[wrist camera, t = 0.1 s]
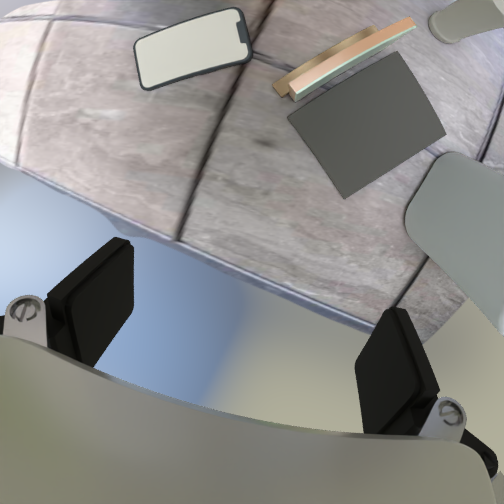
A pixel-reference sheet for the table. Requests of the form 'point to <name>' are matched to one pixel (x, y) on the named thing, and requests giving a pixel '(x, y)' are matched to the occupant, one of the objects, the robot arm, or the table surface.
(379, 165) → the rubber mat
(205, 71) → the phone case
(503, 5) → the bottle
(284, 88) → the tile stand
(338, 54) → the tile
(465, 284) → the plastic bottle
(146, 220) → the table surface
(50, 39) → the table surface
